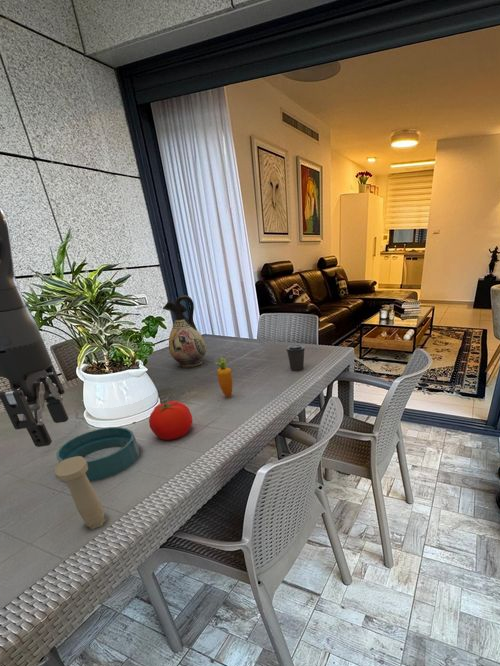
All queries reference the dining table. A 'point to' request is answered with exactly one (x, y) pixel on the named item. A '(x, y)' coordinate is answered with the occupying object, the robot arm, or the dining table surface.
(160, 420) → the tomato
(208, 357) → the dining table surface
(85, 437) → the teal ring
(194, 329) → the ceramic jug
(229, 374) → the carrot
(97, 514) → the handle
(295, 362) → the coffee cup
